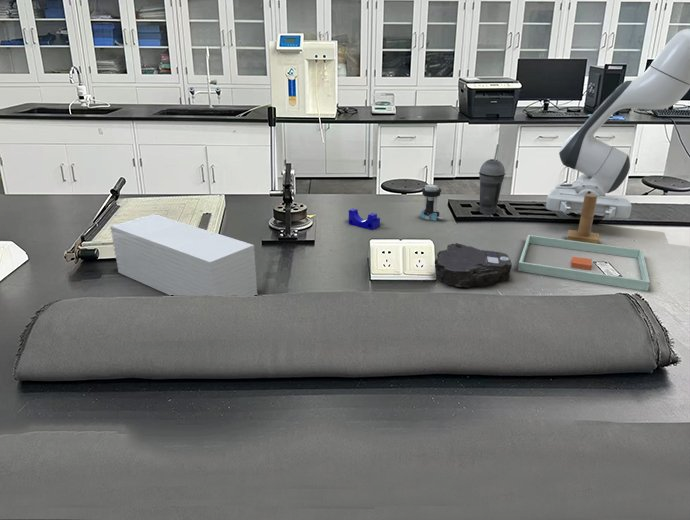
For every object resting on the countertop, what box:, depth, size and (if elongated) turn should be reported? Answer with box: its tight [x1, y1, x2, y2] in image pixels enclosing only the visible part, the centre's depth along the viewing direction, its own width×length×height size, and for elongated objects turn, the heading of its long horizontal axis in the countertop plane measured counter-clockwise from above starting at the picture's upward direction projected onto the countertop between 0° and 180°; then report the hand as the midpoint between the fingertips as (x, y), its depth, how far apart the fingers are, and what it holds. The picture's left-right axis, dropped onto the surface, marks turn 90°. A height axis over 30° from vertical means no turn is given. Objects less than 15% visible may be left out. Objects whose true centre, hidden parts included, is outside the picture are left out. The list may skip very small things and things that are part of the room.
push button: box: [420, 183, 444, 222], centre depth 147 cm, size 7×5×10 cm
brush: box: [566, 194, 600, 244], centre depth 129 cm, size 7×5×13 cm
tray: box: [517, 234, 651, 292], centre depth 119 cm, size 25×19×3 cm
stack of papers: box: [110, 213, 258, 297], centre depth 108 cm, size 32×11×11 cm, turn 53°
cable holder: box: [348, 208, 381, 231], centre depth 145 cm, size 8×4×4 cm, turn 52°
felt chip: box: [570, 256, 593, 271], centre depth 118 cm, size 4×4×1 cm
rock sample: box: [434, 242, 513, 289], centre depth 114 cm, size 18×16×5 cm
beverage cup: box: [478, 143, 506, 215], centre depth 153 cm, size 7×7×20 cm
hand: (587, 213), depth 133 cm, fingers open, 8 cm apart
